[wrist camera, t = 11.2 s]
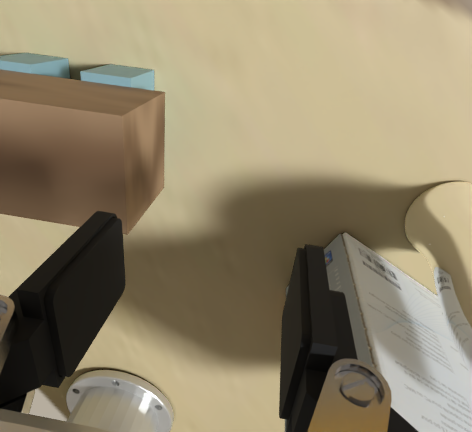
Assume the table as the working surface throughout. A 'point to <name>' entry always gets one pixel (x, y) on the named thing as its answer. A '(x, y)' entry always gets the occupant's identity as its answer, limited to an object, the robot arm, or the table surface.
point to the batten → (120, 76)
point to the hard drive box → (402, 337)
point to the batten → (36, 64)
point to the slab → (78, 149)
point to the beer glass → (447, 254)
